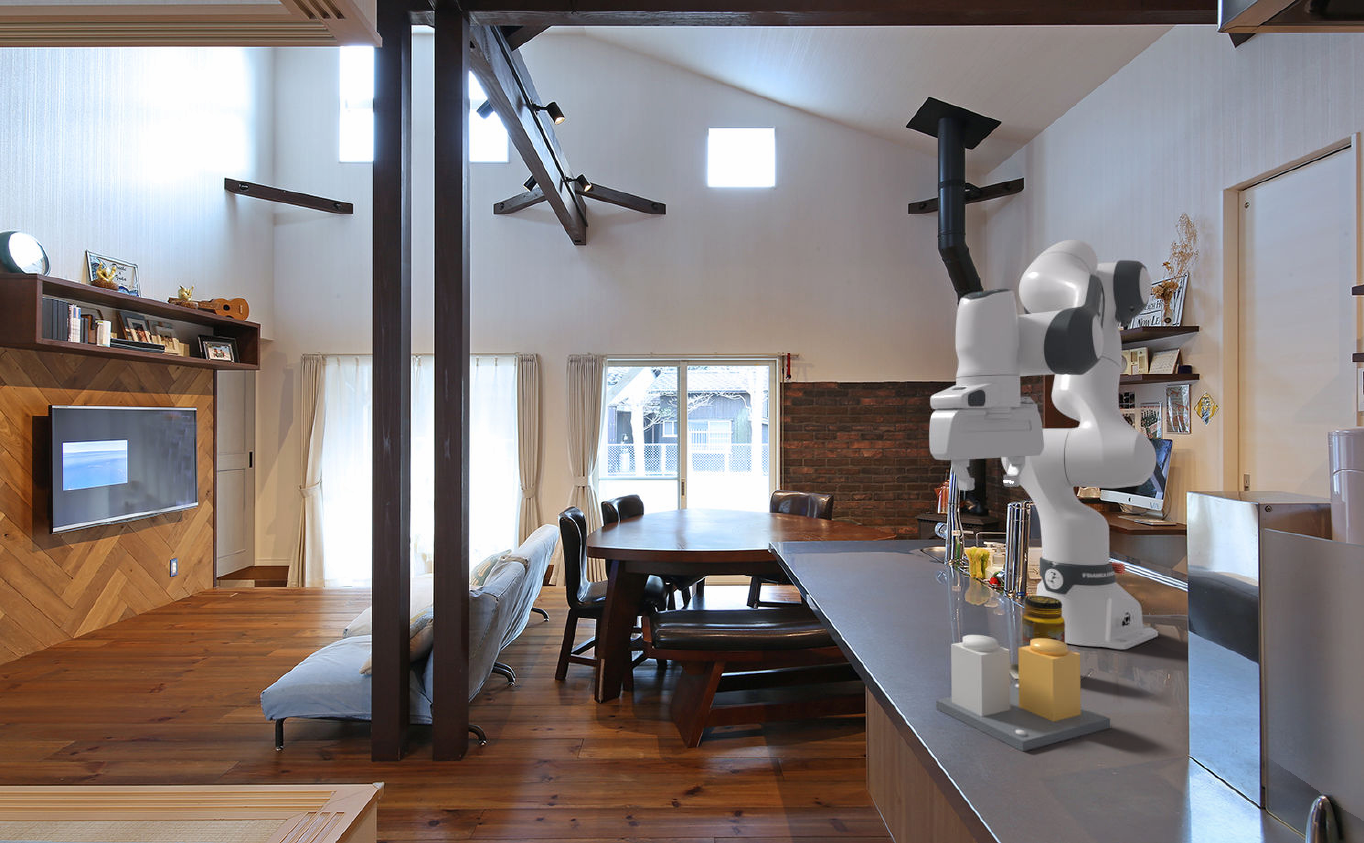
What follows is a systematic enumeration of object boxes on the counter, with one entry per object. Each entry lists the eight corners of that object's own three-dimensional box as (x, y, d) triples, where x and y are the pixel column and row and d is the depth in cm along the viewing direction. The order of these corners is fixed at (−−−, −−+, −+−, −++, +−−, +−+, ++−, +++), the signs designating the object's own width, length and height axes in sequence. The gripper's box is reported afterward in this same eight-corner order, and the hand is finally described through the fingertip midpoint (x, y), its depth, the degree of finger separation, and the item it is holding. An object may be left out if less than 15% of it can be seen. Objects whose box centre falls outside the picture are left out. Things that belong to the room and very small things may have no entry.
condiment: (1074, 684, 105) (1073, 605, 106) (1014, 679, 107) (1013, 602, 108) (1059, 668, 113) (1058, 594, 113) (1003, 664, 114) (1002, 591, 115)
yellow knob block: (1045, 700, 96) (1045, 635, 96) (1080, 714, 91) (1080, 646, 91) (1018, 706, 94) (1018, 640, 94) (1053, 721, 89) (1052, 651, 89)
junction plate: (1018, 690, 103) (1017, 622, 103) (1110, 727, 90) (1109, 649, 90) (936, 708, 96) (935, 635, 96) (1022, 751, 83) (1021, 666, 83)
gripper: (1018, 397, 111) (1020, 483, 111) (921, 397, 103) (922, 490, 103) (1054, 395, 105) (1055, 486, 105) (954, 395, 97) (955, 494, 97)
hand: (989, 488), depth 104 cm, fingers open, 8 cm apart
